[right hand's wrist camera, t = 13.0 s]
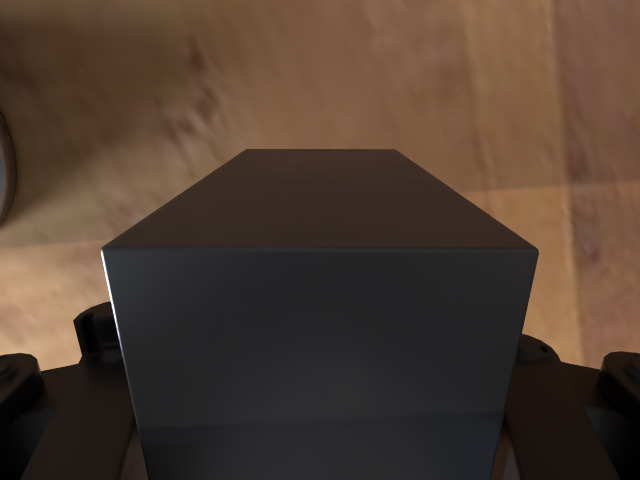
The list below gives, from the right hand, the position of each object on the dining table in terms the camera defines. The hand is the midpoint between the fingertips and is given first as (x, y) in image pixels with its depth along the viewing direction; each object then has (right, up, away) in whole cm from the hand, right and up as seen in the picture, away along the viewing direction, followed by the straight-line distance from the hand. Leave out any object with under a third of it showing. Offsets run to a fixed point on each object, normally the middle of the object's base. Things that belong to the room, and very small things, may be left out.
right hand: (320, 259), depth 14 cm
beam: (0, -10, +4) cm, 11 cm away
